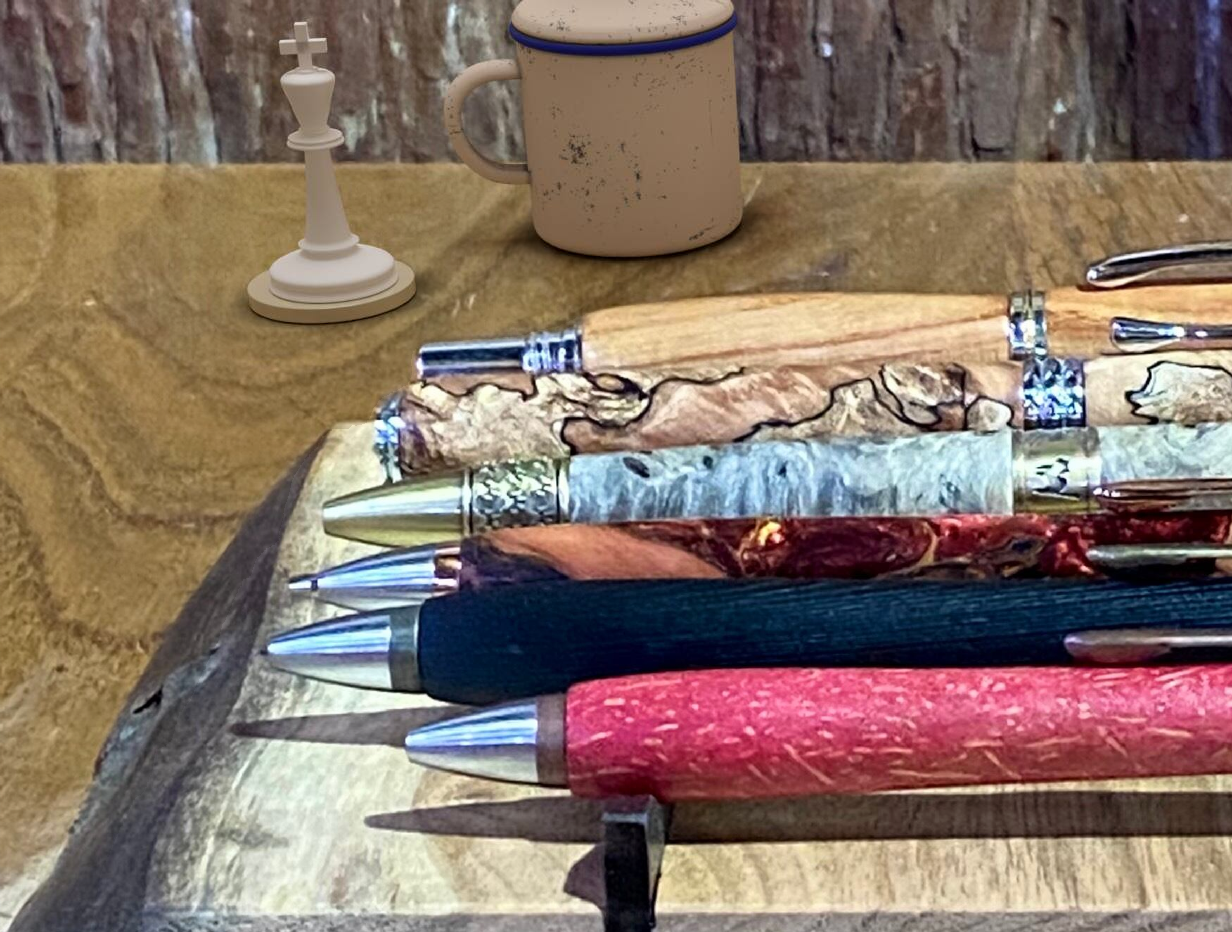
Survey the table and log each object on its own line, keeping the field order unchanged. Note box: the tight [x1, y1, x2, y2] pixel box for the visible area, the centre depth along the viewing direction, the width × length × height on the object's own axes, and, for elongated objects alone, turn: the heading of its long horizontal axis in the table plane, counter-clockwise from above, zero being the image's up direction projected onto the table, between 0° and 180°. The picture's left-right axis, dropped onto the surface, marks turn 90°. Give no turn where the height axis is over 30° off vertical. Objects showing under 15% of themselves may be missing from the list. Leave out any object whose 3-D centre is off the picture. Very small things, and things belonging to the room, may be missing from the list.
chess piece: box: [268, 21, 398, 303], centre depth 102 cm, size 5×5×10 cm
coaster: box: [246, 259, 417, 324], centre depth 104 cm, size 6×6×1 cm
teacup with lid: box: [443, 0, 744, 258], centre depth 108 cm, size 12×9×12 cm
